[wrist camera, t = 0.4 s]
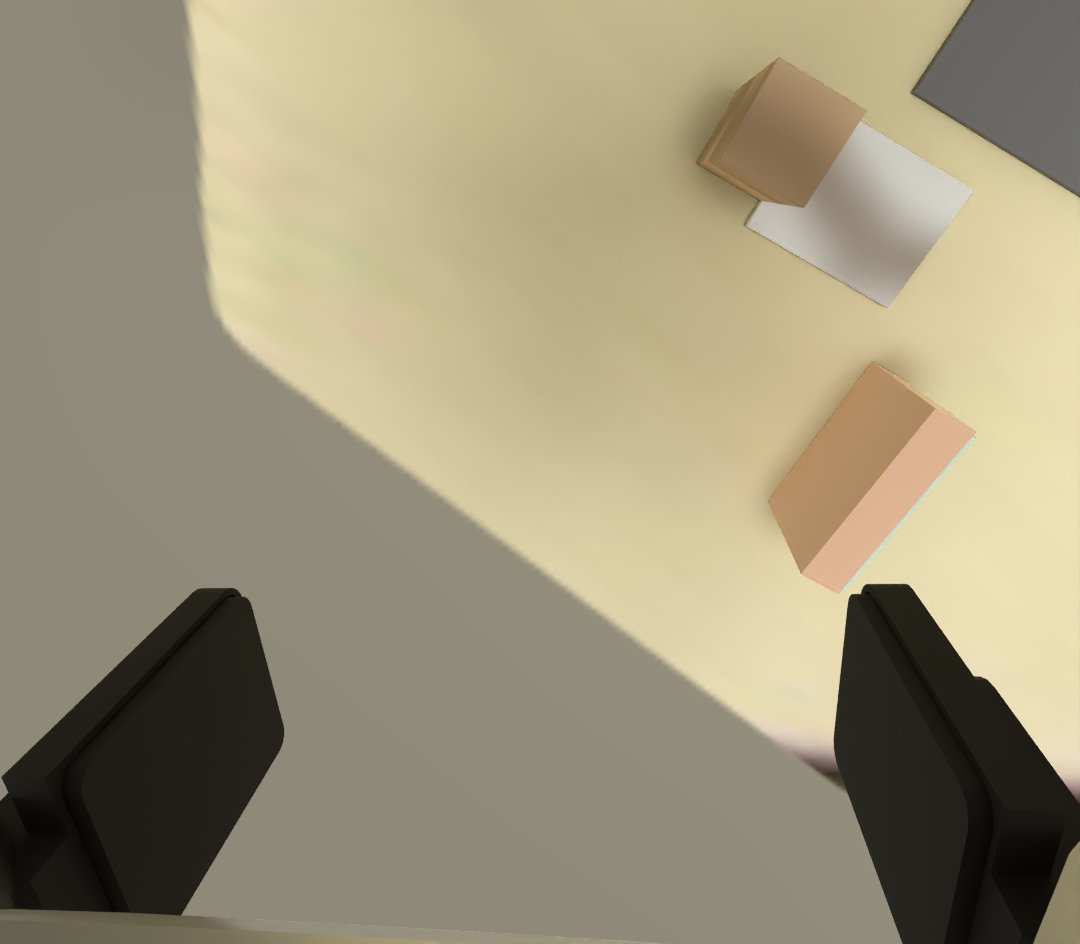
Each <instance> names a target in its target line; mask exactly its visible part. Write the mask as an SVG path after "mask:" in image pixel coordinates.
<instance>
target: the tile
mask: <svg viewBox="0 0 1080 944" xmlns="http://www.w3.org/2000/svg"><path fill="white" fill-rule="evenodd" d="M975 433H976V431H975V430H973V429H972V428H970V427H969V426H968V425H966V424H965V423H963V422H962V421H961V420H959V419H958V418H956V417H955V416H954V415H952V414H951V413H949V412H948V411H947V410H945V409H944V408H942V407H941V406H940V405H938V404H937V403H935V402H934V401H933V400H931V399H930V398H928V397H927V396H926V395H924V394H923V393H922V392H920V391H919V390H917V389H916V388H915V387H913V386H912V385H910V384H909V383H908V382H906V381H905V380H903V379H901V378H899V377H898V376H896V375H894V374H892V373H891V372H889V371H887V370H885V369H884V368H882V367H880V366H879V365H877V364H875V363H873V362H871V364H870V365H869V366H868V368H867V369H866V370H865V372H864V373H863V374H862V376H861V377H860V378H859V380H858V381H857V382H856V384H855V385H854V386H853V388H852V389H851V390H850V392H849V393H848V394H847V396H846V397H845V398H844V400H843V401H842V402H841V404H840V405H839V407H838V408H837V409H836V411H835V412H834V413H833V415H832V416H831V417H830V419H829V420H828V421H827V423H826V424H825V425H824V427H823V428H822V429H821V431H820V432H819V433H818V435H817V436H816V437H815V439H814V440H813V441H812V443H811V444H810V445H809V447H808V448H807V449H806V451H805V452H804V453H803V455H802V456H801V457H800V459H799V460H798V461H797V463H796V464H795V465H794V467H793V468H792V469H791V471H790V472H789V473H788V475H787V476H786V477H785V479H784V480H783V481H782V483H781V484H780V485H779V487H778V488H777V489H776V491H775V492H774V493H773V495H772V496H771V497H770V499H769V500H768V502H769V504H770V506H771V508H772V510H773V513H774V515H775V517H776V519H777V522H778V524H779V526H780V528H781V530H782V533H783V535H784V537H785V539H786V542H787V544H788V546H789V548H790V550H791V553H792V555H793V557H794V559H795V562H796V564H797V566H798V568H799V570H800V573H801V574H802V575H804V576H806V577H808V578H809V579H811V580H813V581H815V582H817V583H819V584H821V585H823V586H824V587H826V588H828V589H830V590H832V591H834V592H836V593H838V594H839V592H840V591H841V590H844V591H845V590H846V588H847V587H848V586H849V585H850V584H851V583H852V581H853V580H854V579H855V578H856V577H857V575H858V574H859V573H860V572H861V571H862V570H863V568H864V567H865V566H866V565H867V564H868V563H869V561H870V560H871V559H872V558H873V557H874V556H875V554H876V553H877V552H878V551H879V550H880V549H881V547H882V546H883V545H884V544H885V543H886V542H887V540H888V539H889V538H890V537H891V536H892V535H893V533H894V532H895V531H896V530H897V529H898V528H899V526H900V525H901V524H902V523H903V522H904V521H905V519H906V518H907V517H908V516H909V515H910V514H911V512H912V511H913V510H914V509H915V508H916V506H917V505H918V504H919V503H920V502H921V501H922V499H923V498H924V497H925V496H926V495H927V494H928V492H929V491H930V490H931V489H932V488H933V487H934V485H935V484H936V483H937V482H938V481H939V480H940V478H941V477H942V476H943V475H944V474H945V473H946V471H947V470H948V469H949V468H950V467H951V466H952V464H953V463H954V462H955V461H956V460H957V459H958V457H959V456H960V455H961V454H962V453H963V452H964V450H965V449H966V448H967V447H968V446H969V445H970V443H971V442H972V441H973V440H974V439H975V436H974V434H975Z"/></svg>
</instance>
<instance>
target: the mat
mask: <svg viewBox="0 0 1080 944" xmlns="http://www.w3.org/2000/svg"><path fill="white" fill-rule="evenodd" d="M911 93H912V94H914V95H915V96H917V97H918V98H920V99H922V100H923V101H925V102H927V103H928V104H930V105H931V106H933V107H935V108H936V109H938V110H940V111H941V112H943V113H944V114H946V115H948V116H949V117H951V118H953V119H954V120H956V121H957V122H959V123H961V124H962V125H964V126H966V127H967V128H969V129H970V130H972V131H974V132H975V133H977V134H979V135H980V136H982V137H983V138H985V139H987V140H988V141H990V142H991V143H993V144H995V145H996V146H998V147H1000V148H1001V149H1003V150H1004V151H1006V152H1008V153H1009V154H1011V155H1013V156H1014V157H1016V158H1017V159H1019V160H1021V161H1022V162H1024V163H1026V164H1027V165H1029V166H1030V167H1032V168H1034V169H1035V170H1037V171H1039V172H1040V173H1042V174H1043V175H1045V176H1047V177H1048V178H1050V179H1052V180H1053V181H1055V182H1056V183H1058V184H1060V185H1061V186H1063V187H1064V188H1066V189H1068V190H1069V191H1071V192H1073V193H1074V194H1076V195H1077V196H1079V197H1080V0H972V2H971V3H970V5H969V6H968V8H967V9H966V11H965V12H964V14H963V15H962V17H961V18H960V20H959V21H958V23H957V24H956V26H955V27H954V29H953V30H952V32H951V33H950V35H949V36H948V38H947V39H946V41H945V42H944V44H943V46H942V47H941V49H940V50H939V52H938V53H937V55H936V56H935V58H934V59H933V61H932V62H931V64H930V65H929V67H928V68H927V70H926V71H925V73H924V74H923V76H922V77H921V79H920V80H919V82H918V83H917V85H916V86H915V88H914V89H913V91H912V92H911Z"/></svg>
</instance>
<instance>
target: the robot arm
mask: <svg viewBox="0 0 1080 944" xmlns="http://www.w3.org/2000/svg"><path fill="white" fill-rule="evenodd" d="M283 738H284V726H283V722H282V718H281V714H280V711H279V707H278V703H277V699H276V696H275V692H274V689H273V685H272V681H271V677H270V673H269V669H268V666H267V662H266V658H265V654H264V651H263V647H262V643H261V639H260V636H259V632H258V628H257V624H256V621H255V617H254V613H253V609H252V606H251V603H250V601H249V600H248V599H247V598H245V597H242V596H241V594H240V593H239V592H238V590H236V589H234V588H202V589H197V590H196V591H194V592H193V593H192V594H191V595H190V596H189V597H188V598H187V599H186V600H185V601H184V602H183V603H182V604H181V605H179V606H178V607H177V608H176V609H175V610H174V611H173V612H172V613H171V614H170V615H169V616H168V617H167V618H166V619H165V620H164V621H163V622H162V623H161V624H160V625H159V626H158V627H157V628H156V629H154V630H153V631H152V632H151V633H150V634H149V635H148V636H147V637H146V638H145V639H144V640H143V641H142V642H141V643H140V644H139V645H138V646H137V647H136V648H135V649H134V650H133V651H132V652H131V653H130V654H129V655H128V656H127V657H125V659H123V660H122V661H121V662H120V663H119V664H118V665H117V666H116V667H115V668H114V669H113V670H112V671H111V672H110V673H109V674H108V675H107V676H106V677H105V678H104V679H103V680H102V681H101V682H100V683H98V684H97V685H96V687H94V688H93V689H92V690H91V691H90V692H89V693H88V694H87V695H86V696H85V697H84V698H83V699H82V700H81V701H80V702H79V703H78V704H77V705H76V706H75V707H74V708H73V709H72V710H71V711H69V712H68V713H67V714H66V715H65V716H64V717H63V718H62V719H61V720H60V721H59V722H58V723H57V724H56V725H55V726H54V727H53V728H52V729H51V730H50V731H49V732H48V733H47V734H46V735H45V736H44V737H43V738H41V739H40V740H39V742H37V743H36V744H35V745H34V746H33V747H32V748H31V749H30V750H29V751H28V752H27V753H26V754H25V755H24V756H23V757H22V758H21V759H20V760H19V761H18V762H17V763H16V764H15V765H13V766H12V767H11V768H10V769H9V770H8V771H7V772H6V773H5V774H4V775H3V776H2V780H3V782H4V784H5V786H6V788H7V790H8V792H9V793H8V794H7V795H6V796H5V797H4V798H3V799H2V800H1V801H0V944H664V943H649V942H633V941H617V940H601V939H587V938H570V937H555V936H540V935H523V934H506V933H489V932H471V931H454V930H437V929H420V928H404V927H385V926H367V925H349V924H332V923H315V922H297V921H277V920H258V919H239V918H219V917H200V916H181V914H182V913H183V911H184V909H185V908H186V906H187V904H188V903H189V901H190V899H191V898H192V896H193V894H194V893H195V891H196V889H197V888H198V886H199V884H200V883H201V881H202V879H203V878H204V876H205V874H206V873H207V871H208V869H209V867H210V866H211V864H212V863H213V861H214V859H215V858H216V856H217V854H218V853H219V851H220V849H221V848H222V846H223V844H224V843H225V841H226V839H227V838H228V836H229V834H230V832H231V831H232V829H233V828H234V826H235V824H236V822H237V821H238V819H239V818H240V816H241V814H242V813H243V811H244V809H245V808H246V806H247V804H248V803H249V801H250V799H251V797H252V796H253V794H254V793H255V791H256V789H257V788H258V786H259V784H260V783H261V781H262V779H263V778H264V776H265V774H266V773H267V771H268V769H269V768H270V766H271V764H272V763H273V761H274V759H275V758H276V756H277V754H278V753H279V751H280V749H281V746H282V743H283ZM834 751H835V757H836V761H837V765H838V768H839V771H840V773H841V776H842V779H843V781H844V784H845V787H846V790H847V792H848V795H849V798H850V801H851V803H852V806H853V809H854V812H855V814H856V817H857V820H858V823H859V825H860V828H861V831H862V834H863V836H864V839H865V842H866V845H867V847H868V850H869V853H870V856H871V858H872V861H873V864H874V867H875V869H876V872H877V875H878V877H879V880H880V883H881V886H882V889H883V891H884V894H885V897H886V899H887V902H888V905H889V908H890V911H891V913H892V916H893V919H894V922H895V924H896V927H897V930H898V932H899V935H900V938H901V941H902V943H903V944H1080V804H1079V803H1078V801H1077V800H1076V799H1075V797H1074V796H1073V795H1072V793H1071V792H1070V790H1069V789H1068V788H1067V786H1066V785H1065V784H1064V782H1063V781H1062V779H1061V778H1060V777H1059V775H1058V774H1057V773H1056V771H1055V770H1054V768H1053V767H1052V766H1051V764H1050V763H1049V762H1048V760H1047V759H1046V757H1045V756H1044V755H1043V753H1042V752H1041V751H1040V749H1039V748H1038V746H1037V745H1036V744H1035V742H1034V741H1033V740H1032V738H1031V737H1030V735H1029V734H1028V733H1027V731H1026V730H1025V729H1024V727H1023V726H1022V724H1021V723H1020V722H1019V720H1018V719H1017V718H1016V716H1015V715H1014V713H1013V712H1012V711H1011V709H1010V708H1009V707H1008V705H1007V704H1006V702H1005V701H1004V700H1003V698H1002V697H1001V696H1000V694H999V693H998V691H997V690H996V689H995V687H994V686H993V685H992V684H991V683H990V682H989V681H988V680H987V679H984V678H982V677H976V676H973V675H972V673H971V672H970V670H969V669H968V667H967V666H966V665H965V663H964V662H963V660H962V659H961V658H960V656H959V655H958V653H957V652H956V650H955V649H954V648H953V646H952V645H951V643H950V642H949V640H948V639H947V638H946V636H945V635H944V633H943V632H942V630H941V629H940V628H939V626H938V625H937V623H936V622H935V620H934V619H933V618H932V616H931V615H930V613H929V612H928V610H927V609H926V608H925V606H924V605H923V603H922V602H921V601H920V599H919V598H918V596H917V595H916V593H915V592H914V591H913V589H912V588H911V587H910V586H909V585H907V584H866V585H865V586H864V587H863V589H862V592H861V594H852V595H851V596H850V598H849V601H848V608H847V618H846V627H845V637H844V646H843V656H842V665H841V674H840V684H839V693H838V703H837V712H836V722H835V731H834Z"/></svg>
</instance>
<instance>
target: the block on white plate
mask: <svg viewBox="0 0 1080 944" xmlns="http://www.w3.org/2000/svg"><path fill="white" fill-rule="evenodd" d="M866 111H867V110H865V109H863V108H862V107H860V106H858V105H857V104H855V103H853V102H852V101H850V100H848V99H847V98H845V97H844V96H842V95H840V94H839V93H837V92H835V91H834V90H832V89H830V88H829V87H827V86H825V85H824V84H822V83H821V82H819V81H817V80H816V79H814V78H812V77H811V76H809V75H807V74H806V73H804V72H803V71H801V70H799V69H798V68H796V67H794V66H793V65H791V64H789V63H788V62H786V61H784V60H783V59H781V58H780V57H779V58H777V59H776V60H775V61H774V62H772V63H771V64H770V65H768V66H767V67H766V68H765V69H763V70H762V71H761V72H759V73H758V74H757V75H756V76H754V77H753V78H752V79H750V80H749V81H748V82H747V83H745V84H744V85H743V86H741V87H740V88H739V89H738V91H737V92H736V94H735V96H734V98H733V100H732V101H731V103H730V105H729V107H728V108H727V110H726V112H725V114H724V115H723V117H722V119H721V121H720V123H719V124H718V126H717V128H716V130H715V131H714V133H713V135H712V137H711V138H710V140H709V142H708V144H707V145H706V147H705V149H704V151H703V153H702V154H701V156H700V158H699V160H698V161H697V163H696V164H698V165H699V166H701V167H703V168H705V169H706V170H708V171H710V172H711V173H713V174H715V175H717V176H718V177H720V178H722V179H723V180H725V181H727V182H728V183H730V184H732V185H734V186H735V187H737V188H739V189H740V190H742V191H744V192H746V193H747V194H749V195H751V196H752V197H754V198H756V199H757V200H759V203H758V204H757V206H756V208H755V209H754V211H753V212H752V214H751V216H750V217H749V219H748V221H747V222H746V224H745V226H747V227H748V228H750V229H752V230H753V231H755V232H757V233H759V234H760V235H762V236H764V237H766V238H767V239H769V240H771V241H772V242H774V243H776V244H778V245H779V246H781V247H783V248H784V249H786V250H788V251H790V252H791V253H793V254H795V255H796V256H798V257H800V258H802V259H803V260H805V261H807V262H809V263H810V264H812V265H814V266H815V267H817V268H819V269H821V270H822V271H824V272H826V273H827V274H829V275H831V276H833V277H834V278H836V279H838V280H839V281H841V282H843V283H845V284H846V285H848V286H850V287H852V288H853V289H855V290H857V291H858V292H860V293H862V294H864V295H865V296H867V297H869V298H870V299H872V300H874V301H876V302H877V303H879V304H881V305H882V306H884V307H886V308H888V307H889V306H890V304H891V303H892V301H893V300H894V299H895V297H896V296H897V295H898V293H899V292H900V291H901V289H902V288H903V286H904V285H905V284H906V282H907V281H908V280H909V278H910V277H911V276H912V274H913V273H914V271H915V270H916V269H917V267H918V266H919V265H920V263H921V262H922V261H923V259H924V258H925V256H926V255H927V254H928V252H929V251H930V250H931V248H932V247H933V246H934V244H935V243H936V241H937V240H938V239H939V237H940V236H941V235H942V233H943V232H944V231H945V229H946V228H947V226H948V225H949V224H950V222H951V221H952V220H953V218H954V217H955V216H956V214H957V213H958V211H959V210H960V209H961V207H962V206H963V205H964V203H965V202H966V201H967V199H968V198H969V196H970V195H971V194H972V192H973V191H974V190H973V189H971V188H970V187H968V186H967V185H965V184H963V183H962V182H960V181H958V180H957V179H955V178H953V177H952V176H950V175H948V174H947V173H945V172H944V171H942V170H940V169H939V168H937V167H935V166H934V165H932V164H930V163H929V162H927V161H925V160H924V159H922V158H920V157H919V156H917V155H916V154H914V153H912V152H911V151H909V150H907V149H906V148H904V147H902V146H901V145H899V144H897V143H896V142H894V141H892V140H891V139H889V138H888V137H886V136H884V135H883V134H881V133H879V132H878V131H876V130H874V129H873V128H871V127H869V126H868V125H866V124H864V123H863V122H861V119H862V117H863V116H864V114H865V113H866Z"/></svg>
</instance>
